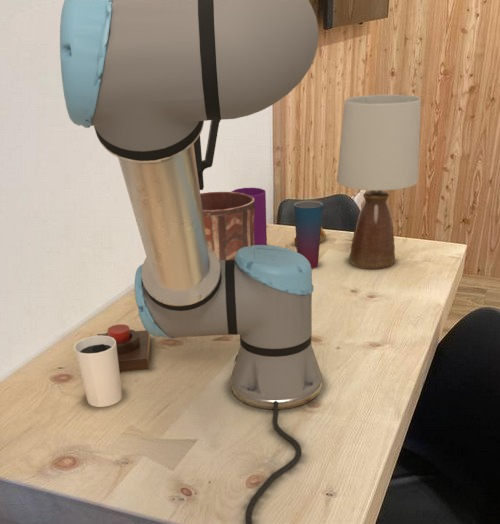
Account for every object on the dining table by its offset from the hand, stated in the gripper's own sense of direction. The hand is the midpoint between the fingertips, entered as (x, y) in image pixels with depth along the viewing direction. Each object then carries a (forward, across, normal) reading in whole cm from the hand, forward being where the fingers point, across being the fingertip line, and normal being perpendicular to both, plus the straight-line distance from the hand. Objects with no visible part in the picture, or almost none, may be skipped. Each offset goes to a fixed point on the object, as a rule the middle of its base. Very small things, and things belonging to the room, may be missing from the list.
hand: (194, 208), depth 116 cm
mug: (+24, -14, -45) cm, 53 cm away
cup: (+24, -28, -32) cm, 49 cm away
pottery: (+24, -6, -30) cm, 39 cm away
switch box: (+24, +16, +9) cm, 30 cm away
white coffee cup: (+24, +19, +24) cm, 39 cm away
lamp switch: (+21, +16, +9) cm, 28 cm away
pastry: (+24, -33, -50) cm, 64 cm away
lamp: (+24, -44, -30) cm, 59 cm away
